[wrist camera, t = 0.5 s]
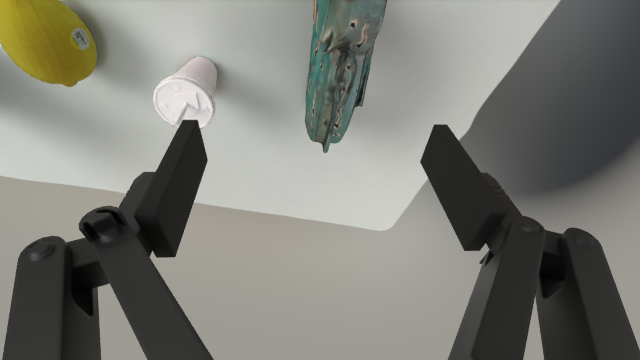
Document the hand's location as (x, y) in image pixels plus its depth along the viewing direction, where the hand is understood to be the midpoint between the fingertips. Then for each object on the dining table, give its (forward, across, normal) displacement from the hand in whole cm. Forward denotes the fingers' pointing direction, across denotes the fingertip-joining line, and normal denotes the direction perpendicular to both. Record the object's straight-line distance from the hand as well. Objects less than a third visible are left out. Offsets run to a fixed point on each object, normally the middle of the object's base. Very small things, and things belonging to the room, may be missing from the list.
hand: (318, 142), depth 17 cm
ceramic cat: (+26, +3, -2) cm, 27 cm away
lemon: (+26, -28, -2) cm, 39 cm away
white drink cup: (+26, -14, -7) cm, 31 cm away
